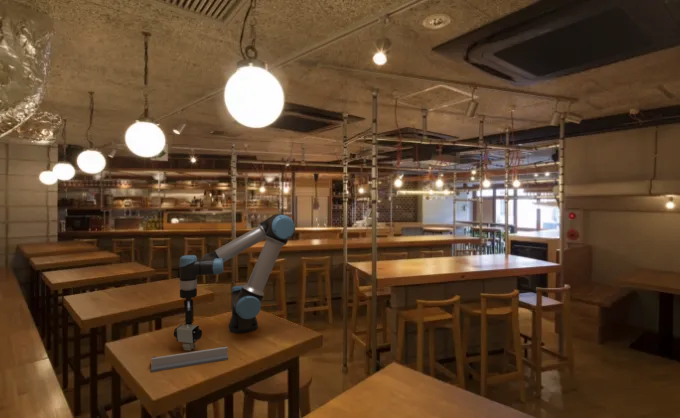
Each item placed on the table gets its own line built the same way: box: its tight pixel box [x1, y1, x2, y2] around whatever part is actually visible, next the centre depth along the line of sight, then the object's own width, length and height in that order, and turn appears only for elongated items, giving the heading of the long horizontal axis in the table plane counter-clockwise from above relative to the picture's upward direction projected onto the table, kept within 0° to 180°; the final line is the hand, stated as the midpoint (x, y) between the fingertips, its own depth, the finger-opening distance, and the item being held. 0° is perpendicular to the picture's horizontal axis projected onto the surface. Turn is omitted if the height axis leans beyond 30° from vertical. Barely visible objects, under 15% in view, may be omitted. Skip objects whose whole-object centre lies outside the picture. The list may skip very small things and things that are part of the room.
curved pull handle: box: [150, 345, 229, 373], centre depth 164 cm, size 30×10×4 cm, turn 113°
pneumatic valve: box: [173, 323, 203, 352], centre depth 175 cm, size 6×12×12 cm, turn 79°
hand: (188, 337), depth 181 cm, fingers closed
